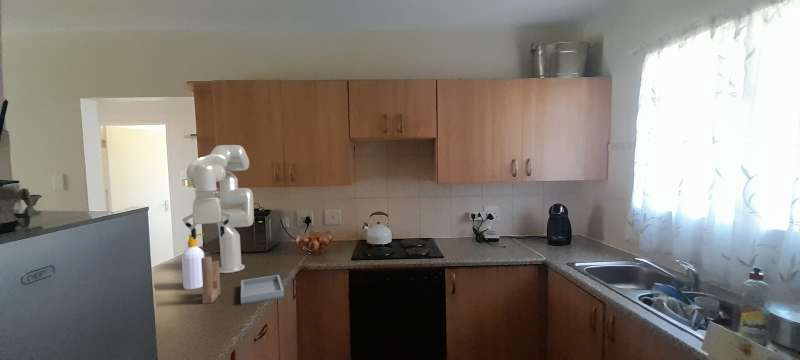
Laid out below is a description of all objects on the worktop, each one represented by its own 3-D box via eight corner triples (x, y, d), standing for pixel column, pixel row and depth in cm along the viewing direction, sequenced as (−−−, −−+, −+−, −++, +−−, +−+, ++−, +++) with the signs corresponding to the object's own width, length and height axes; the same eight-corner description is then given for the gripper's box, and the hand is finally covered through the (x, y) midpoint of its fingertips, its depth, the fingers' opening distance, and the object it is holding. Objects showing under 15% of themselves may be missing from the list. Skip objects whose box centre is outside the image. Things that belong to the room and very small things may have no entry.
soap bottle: (203, 288, 153) (200, 235, 152) (180, 290, 152) (177, 237, 150) (210, 282, 162) (207, 231, 161) (188, 284, 160) (185, 233, 159)
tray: (241, 286, 154) (241, 280, 154) (279, 281, 161) (279, 274, 161) (241, 304, 134) (240, 297, 134) (284, 297, 141) (283, 290, 141)
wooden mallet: (220, 293, 147) (218, 251, 146) (212, 303, 137) (209, 258, 136) (211, 294, 147) (209, 252, 146) (202, 304, 136) (199, 259, 135)
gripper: (230, 193, 146) (232, 233, 147) (182, 196, 139) (185, 238, 140) (229, 194, 140) (231, 236, 140) (179, 197, 133) (182, 241, 133)
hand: (208, 237), depth 140 cm, fingers open, 9 cm apart
